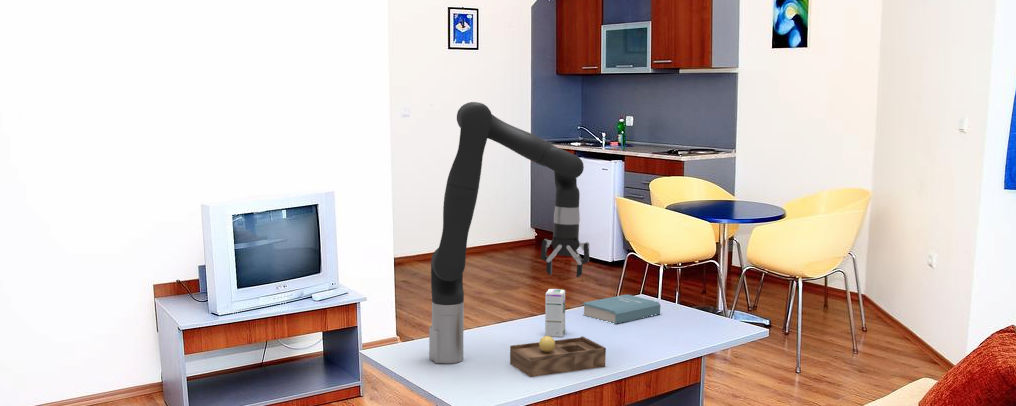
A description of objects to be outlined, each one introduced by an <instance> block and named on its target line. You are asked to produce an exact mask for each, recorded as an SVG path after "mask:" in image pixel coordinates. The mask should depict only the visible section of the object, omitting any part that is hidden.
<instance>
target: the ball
mask: <svg viewBox="0 0 1016 406" xmlns="http://www.w3.org/2000/svg"><path fill="white" fill-rule="evenodd" d="M554 340H555V339H554V337H550V336H546V335H544V336H542V337H541V338H540V339H539V346H540V349H541V350H542V351H544V352H550V351H552V350H553V349H554V348H555V341H554Z"/></svg>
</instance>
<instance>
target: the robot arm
mask: <svg viewBox="0 0 1016 406" xmlns="http://www.w3.org/2000/svg"><path fill="white" fill-rule="evenodd" d="M456 121H457V124H458V127H459V128H460V130H459V131H460V132H459V141H458V146H457V147H458V148H457V152H456V155H455V157H454V160H453V162H452V165H451V168H450V170H449V173H448V176H447V180H446V185H445V191H444V196H443V197H444V199H443V208H442V220H443V221H442V232H441V237H440V242H439V245H438V247H437V249H435V251H434V252H433V253H432V256H431V258H430V259H431V261H430V264H431V265H430V283H431V284H430V289H431V325H430V326H429V328H428V329H429V332H428V334H429V335H428V336H429V339H428V342H429V344H428V345H429V346H428V347H429V350H428V351H429V353H428V357H429V359H430V360H431V361H432V362H434V363H435V364H456V363H460V362H462V361H463V360H464V324H465V323H464V316H465V313H464V311H465V310H464V308H465V306H464V304H465V299H464V298H465V293H464V291H465V290H464V284H463V281H464V280H463V279H464V277H463V275H464V274H463V273H464V271H465V268H466V257H467V246H468V245H467V244H468V237H469V232H470V228H471V224H472V220H473V216H474V212H475V209H476V204H477V199H478V194H479V189H480V182H481V175H482V166H483V157H484V152H485V148H486V144H487V141H488V140H492V141H493V142H496V143H497V144H499V145H502V146H504V147H505V148H507V149H509V150H511V151H513V152H514V153H516V154H518V155H520V156H522V157H523V158H525V159H527V160H529V161H532V162H533V163H535V164H537V165H539V166H542V167H545V168H548V169H550V170H551V171H553V174H554V184H555V190H556V191H555V203H554V212H553V228H552V229H553V234H552V240H550V239H547V238H544V239H543V240H542V241H541V248H540V259H541V260H542V261H545V262H546V266H545V267H546V269H545V270H546V271H545V272H546V273H547V275H548V276H549V275H550V276H551V275H552V274H553V261H552V260H553V259H554V258H555V257H556V256H557V255H558V256H561V257H563V256H565V257H572V258H573V259H574V260H575V261H576V263H577V265H576V278H580V277H581V276H583V275H582V274H583V267H584V265H585V264H588V263H589V262H590V242H588V241H586V242H580V240H579V238H580V237H579V236H580V222H581V221H580V220H581V218H580V196H581V195H580V190H579V188H578V185H577V184H578V183H577V178H579V177H580V176H581V175H582V174H583V172H584V167H585V166H584V162H583V160H582V159H581V158H580V157H579V156H578V155H576V154H574V153H572V152H569V151H567V150H565V149H562V148H560V147H557V146H556V145H554V144H552V143H551V142H549V141H547V140H545V139H543V138H541V137H539V136H537V135H535V134H533V133H530V132H528V131H525V130H523V129H520V128H518V127H515V126H514V125H511V124H509V123H507V122H505V121H504V120H501V119H500V118H498V117H497V116H495V115H494V114H492V112H491V109H490V108H489V107H488V106H487V105H486V104H484V103H483V102H476V101H471V102H467V103H465V104H463V105H461V106H460V107H459V108H458V110H457V113H456ZM550 245H551V247H552V248H553V251H552V253H551V254H550V255H547V252H548V248H549V247H550ZM580 247H581V248H580ZM579 248H580V249H581V250H582V251H583V258H582V257H581V256H580V254H579V251H578V249H579Z"/></svg>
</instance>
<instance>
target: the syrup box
mask: <svg viewBox="0 0 1016 406" xmlns="http://www.w3.org/2000/svg"><path fill="white" fill-rule="evenodd" d="M544 304H545V305H544V306H545V307H544V308H545V311H544V313H545V320H544V321H545V324H544V325H545V328H544V330H545V332H544V333H545V334H544V336H550V337H552V338H563V337H564V335H565V334H566V289H563V288H561V289H560V288H548V290H547V291H546V292H545V303H544Z"/></svg>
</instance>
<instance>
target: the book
mask: <svg viewBox="0 0 1016 406" xmlns="http://www.w3.org/2000/svg"><path fill="white" fill-rule="evenodd" d="M582 305H583V314H582V316H584V317H586V318H590V317H591V319H594V318H595V319H594V320H597V319H599V320H598V321H601V320H603V321H602V322H604V321H608V322H611V323H614V324H613V325H618V324H617V323H620V324H623V323H622V322H624V323H627V322H626V321H629V322H631V321H630V320H633V321H636V320H635V319H638V320H640V319H639V318H642V319H644V318H643V317H646V318H648V317H647V316H651V315H655V314H659V315H660V314H661V303H660V302H659V301H655V300H651V299H649V298H648V299H647V298H644V297H639V296H635V295H631V294H621V295H617V296H611V297H605V298H600V299H596V300H591V301H586V302H583V303H582ZM655 316H656V315H655ZM651 317H652V316H651ZM608 322H607V323H608ZM611 323H610V324H611Z"/></svg>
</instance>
